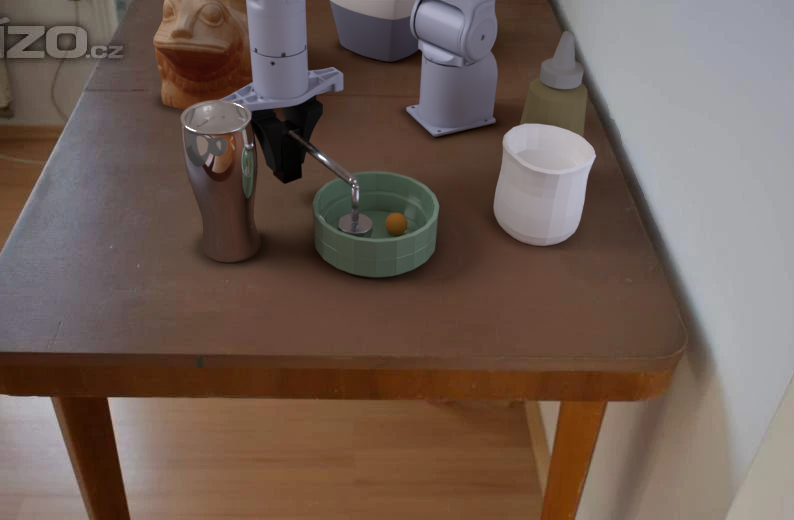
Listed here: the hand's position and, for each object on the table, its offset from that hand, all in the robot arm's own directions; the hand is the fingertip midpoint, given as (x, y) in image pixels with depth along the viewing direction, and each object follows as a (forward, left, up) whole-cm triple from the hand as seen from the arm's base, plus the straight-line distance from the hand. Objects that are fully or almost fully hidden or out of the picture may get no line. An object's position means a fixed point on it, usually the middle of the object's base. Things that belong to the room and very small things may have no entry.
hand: (285, 164), depth 94 cm
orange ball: (-7, +13, -2) cm, 15 cm away
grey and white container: (-29, -32, -4) cm, 44 cm away
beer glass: (+9, +7, -4) cm, 12 cm away
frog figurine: (-2, -30, -4) cm, 30 cm away
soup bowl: (-5, +13, -4) cm, 14 cm away
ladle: (-1, +7, -1) cm, 7 cm away
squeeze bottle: (-29, +10, -4) cm, 31 cm away
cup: (-23, +17, -4) cm, 29 cm away
